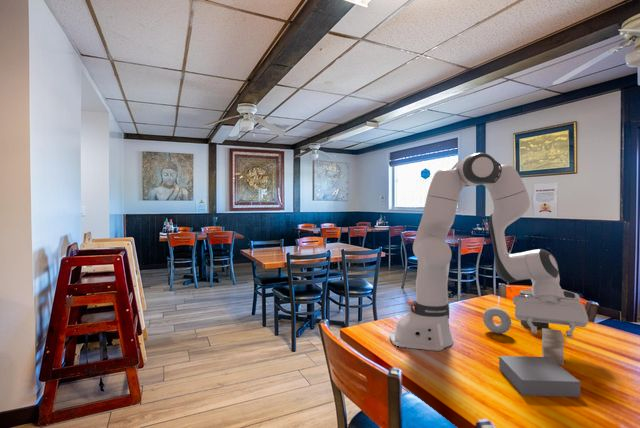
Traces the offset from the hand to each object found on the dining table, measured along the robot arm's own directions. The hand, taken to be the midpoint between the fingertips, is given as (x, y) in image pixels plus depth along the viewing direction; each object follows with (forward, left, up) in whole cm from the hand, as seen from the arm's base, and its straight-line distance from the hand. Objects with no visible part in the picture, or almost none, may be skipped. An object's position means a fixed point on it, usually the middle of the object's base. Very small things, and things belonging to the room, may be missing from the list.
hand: (551, 334), depth 107 cm
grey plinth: (-13, -16, -7) cm, 22 cm away
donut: (-9, +20, -7) cm, 23 cm away
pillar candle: (+9, +29, -7) cm, 31 cm away
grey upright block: (-1, -2, -7) cm, 8 cm away
